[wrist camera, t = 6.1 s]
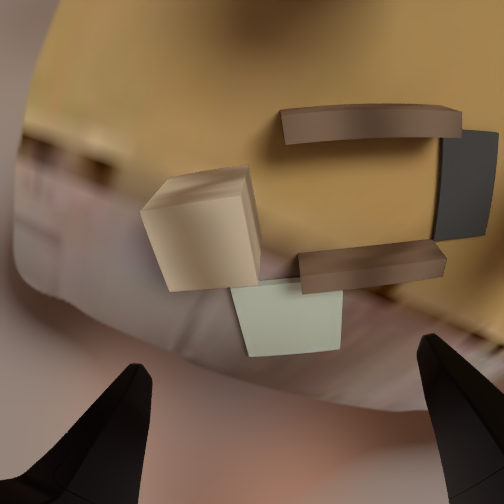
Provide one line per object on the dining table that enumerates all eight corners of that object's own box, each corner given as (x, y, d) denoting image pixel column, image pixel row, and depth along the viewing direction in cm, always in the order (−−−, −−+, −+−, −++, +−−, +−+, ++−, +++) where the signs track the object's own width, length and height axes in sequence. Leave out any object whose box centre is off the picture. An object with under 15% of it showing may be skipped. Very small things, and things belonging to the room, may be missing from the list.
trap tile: (496, 132, 14) (498, 133, 14) (482, 233, 18) (484, 235, 18) (441, 128, 15) (443, 129, 15) (432, 239, 19) (433, 241, 19)
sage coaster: (341, 272, 21) (342, 277, 21) (338, 344, 25) (339, 349, 25) (231, 283, 22) (230, 288, 22) (249, 351, 26) (249, 356, 26)
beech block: (248, 163, 17) (240, 195, 13) (261, 236, 20) (258, 284, 16) (169, 177, 18) (139, 211, 14) (189, 244, 21) (169, 291, 17)
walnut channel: (440, 105, 14) (461, 112, 12) (429, 256, 20) (442, 276, 18) (280, 109, 15) (281, 115, 13) (299, 271, 21) (301, 294, 19)
